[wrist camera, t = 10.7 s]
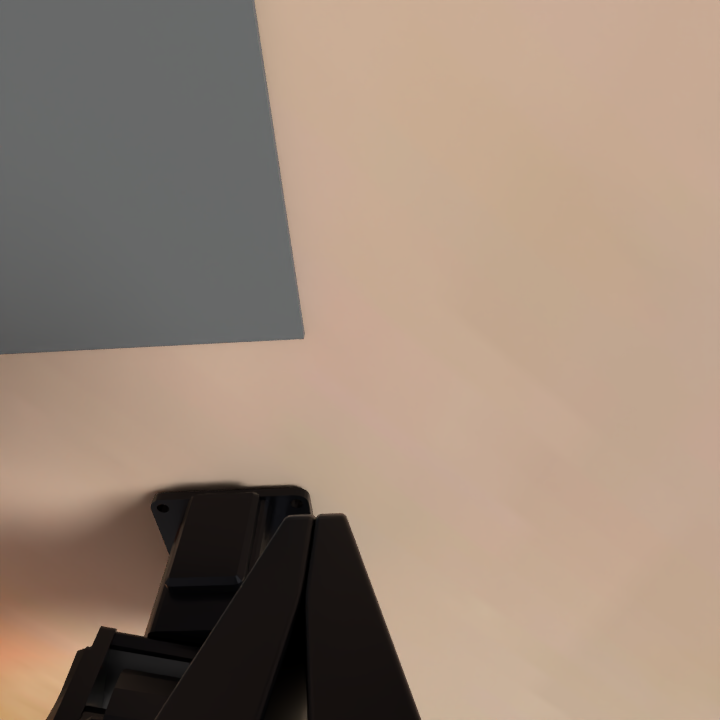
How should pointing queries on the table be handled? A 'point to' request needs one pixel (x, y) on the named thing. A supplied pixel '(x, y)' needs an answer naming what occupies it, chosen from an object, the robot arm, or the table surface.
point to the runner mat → (139, 178)
